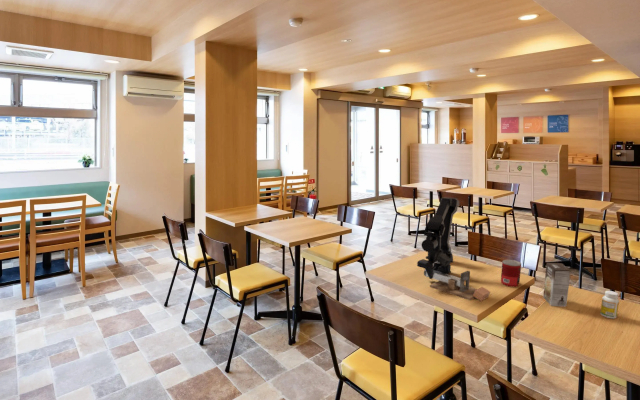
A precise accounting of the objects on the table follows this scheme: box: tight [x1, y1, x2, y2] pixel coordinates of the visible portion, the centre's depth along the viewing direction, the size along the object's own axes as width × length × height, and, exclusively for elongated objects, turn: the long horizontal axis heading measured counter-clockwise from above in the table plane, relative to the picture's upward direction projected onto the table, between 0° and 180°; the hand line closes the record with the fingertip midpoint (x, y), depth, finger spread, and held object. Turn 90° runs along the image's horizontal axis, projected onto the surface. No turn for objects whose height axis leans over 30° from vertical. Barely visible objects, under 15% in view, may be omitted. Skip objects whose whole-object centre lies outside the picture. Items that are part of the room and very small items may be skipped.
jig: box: [429, 270, 478, 301], centre depth 179 cm, size 20×12×10 cm, turn 41°
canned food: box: [500, 259, 522, 288], centre depth 186 cm, size 8×8×11 cm
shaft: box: [423, 269, 461, 287], centre depth 184 cm, size 19×4×4 cm, turn 41°
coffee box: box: [542, 262, 572, 308], centre depth 165 cm, size 9×6×16 cm
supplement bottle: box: [600, 290, 620, 319], centre depth 153 cm, size 5×5×10 cm
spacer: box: [473, 286, 491, 302], centre depth 170 cm, size 4×6×3 cm, turn 133°
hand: (432, 277), depth 188 cm, fingers closed on shaft, 3 cm apart
